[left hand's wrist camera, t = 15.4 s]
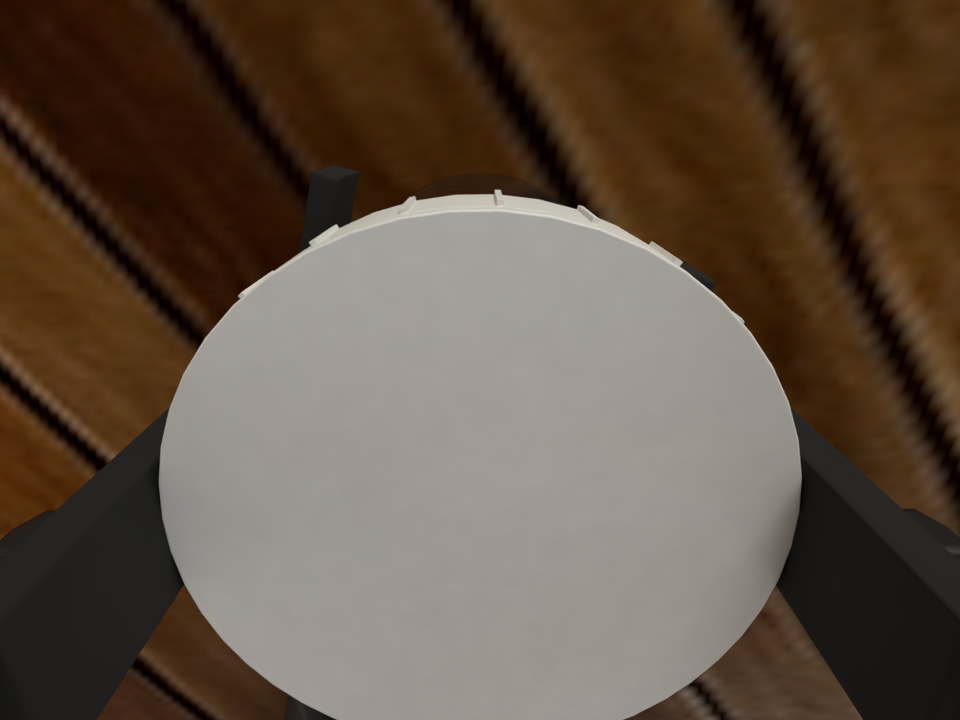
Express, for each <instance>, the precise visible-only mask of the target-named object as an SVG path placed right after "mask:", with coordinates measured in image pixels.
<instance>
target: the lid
mask: <svg viewBox="0 0 960 720" xmlns="http://www.w3.org/2000/svg"><path fill="white" fill-rule="evenodd" d="M309 243H310V245H311V246H310V247H308V248H307V249H305V250H304V251H302V252H301V253H299V254H298V255H296V256H295V257H294V258H292V259H291V260H289V261H288V262H286V263H285V264H284V265H282V266H281V267H279V268H278V269H276V270H275V271H272V272H270V273H269V274H267V275H266V276H264V277H263V278H261V279H260V280H259V281H257V282H256V283H254V284H253V285H251V286H250V287H248V288H247V289H246V290H244V291H243V292H241V293H240V294H239V295H238V297H239V298H241V299H240V300H239V301H238V302H236V303H235V304H234V305H233V306H232V307H231V308H230V309H229V311H228V312H227V313H226V314H225V315H224V317H223V318H222V319H221V320H220V321H219V322H218V324H217V325H216V326H215V327H214V328H213V329H212V331H211V332H210V333H209V334H208V335H207V337H206V338H205V339H204V341H203V342H202V344H201V346H200V347H199V349H198V351H197V352H196V354H195V356H194V357H193V359H192V361H191V362H190V364H189V365H188V367H187V369H186V370H185V372H184V374H183V377H182V379H181V381H180V384H179V386H178V389H177V391H176V394H175V396H174V399H173V401H172V404H171V406H170V409H169V412H168V417H167V421H166V426H165V430H164V435H163V439H162V443H161V452H160V468H159V492H160V502H161V512H162V520H163V524H164V528H165V532H166V535H167V539H168V543H169V547H170V551H171V554H172V556H173V559H174V561H175V563H176V566H177V568H178V570H179V573H180V575H181V578H182V580H183V582H184V584H185V586H186V588H187V589H188V591H189V593H190V594H191V596H192V598H193V600H194V601H195V603H196V605H197V606H198V608H199V610H200V611H201V613H202V614H203V616H204V617H205V618H206V619H207V621H208V622H209V623H210V624H211V626H212V627H213V628H214V630H215V631H216V632H217V633H218V635H219V636H220V637H221V638H222V640H223V641H224V642H225V643H226V644H227V645H228V646H229V647H230V648H231V649H232V650H233V651H234V652H235V653H236V654H237V655H238V656H239V657H240V658H241V659H242V660H243V661H244V662H245V663H246V664H248V665H249V666H250V667H251V668H253V669H254V670H255V671H256V672H258V673H259V674H260V675H262V676H263V677H264V678H265V679H267V680H268V681H269V682H270V683H272V684H273V685H274V686H276V687H278V688H279V689H281V690H282V691H284V692H286V693H287V694H289V695H290V696H292V697H294V698H295V699H297V700H298V701H300V702H301V703H303V704H305V705H307V706H309V707H311V708H314V709H316V710H318V711H320V712H322V713H324V714H326V715H328V716H330V717H332V718H334V719H337V720H624V719H626V718H629V717H631V716H634V715H636V714H638V713H640V712H641V711H643V710H645V709H647V708H649V707H651V706H653V705H655V704H657V703H659V702H661V701H663V700H665V699H666V698H668V697H669V696H671V695H672V694H674V693H675V692H677V691H678V690H680V689H681V688H683V687H684V686H686V685H688V684H689V683H691V682H692V681H693V680H695V679H696V678H697V677H698V676H699V675H701V674H702V673H703V672H704V671H706V670H707V669H708V668H709V667H710V666H712V665H713V664H714V663H715V662H716V661H718V660H719V659H720V658H721V657H722V656H723V655H724V654H725V653H726V652H727V650H728V649H729V648H730V647H731V646H732V645H733V644H734V643H735V642H736V641H737V640H738V639H739V638H740V637H741V636H742V635H743V633H744V632H745V631H746V629H747V628H748V627H749V625H750V624H751V623H752V621H753V620H754V619H755V617H756V616H757V615H758V613H759V612H760V611H761V609H762V608H763V606H764V604H765V603H766V601H767V599H768V597H769V596H770V594H771V592H772V590H773V588H774V587H775V585H776V583H777V581H778V580H779V577H780V575H781V572H782V570H783V567H784V565H785V562H786V560H787V557H788V554H789V552H790V549H791V546H792V542H793V538H794V534H795V529H796V525H797V521H798V516H799V510H800V496H801V481H802V473H801V462H800V451H799V440H798V436H797V432H796V428H795V424H794V421H793V417H792V413H791V409H790V405H789V402H788V400H787V397H786V395H785V393H784V391H783V388H782V386H781V384H780V382H779V379H778V377H777V375H776V372H775V370H774V368H773V366H772V364H771V363H770V361H769V360H768V358H767V357H766V355H765V354H764V352H763V351H762V349H761V348H760V346H759V344H758V343H757V341H756V340H755V338H754V337H753V335H752V334H751V332H750V331H749V330H748V329H747V328H746V327H745V326H744V324H743V323H744V321H743V319H742V318H741V317H739V316H738V315H737V314H735V313H734V312H733V311H731V310H730V309H729V308H728V307H727V306H726V304H725V303H724V302H723V301H722V300H721V299H720V298H718V297H717V296H716V295H715V294H714V293H712V292H711V291H710V290H709V289H707V288H706V287H705V286H704V285H703V284H701V283H700V282H699V281H698V280H696V279H695V278H694V277H693V276H692V275H690V274H689V273H688V272H687V271H685V270H684V269H682V268H681V267H679V266H680V265H681V264H682V263H683V262H682V261H680V260H679V259H678V258H676V257H675V256H673V255H672V254H670V253H669V252H667V251H666V250H664V249H663V248H661V247H660V246H658V245H657V244H655V243H654V242H651V243H650V244H649V245H648V244H646V243H644V242H643V241H641V240H639V239H638V238H636V237H634V236H633V235H631V234H629V233H628V232H626V231H624V230H623V229H621V228H619V227H618V226H616V225H613V224H611V223H609V222H606V221H604V220H602V219H599V218H597V217H596V216H595V215H594V214H592V213H591V212H590V211H588V210H587V209H586V208H585V207H583V206H580V205H578V207H577V209H573V208H569V207H566V206H562V205H558V204H554V203H550V202H547V201H543V200H539V199H531V198H523V197H515V196H507V195H502V193H501V190H495V191H494V194H481V195H451V196H444V197H437V198H430V199H424V200H417V201H416V197H415V196H413V197H409V198H408V199H407V200H406V201H405V202H404V203H403V204H402V205H398V206H395V207H391V208H388V209H385V210H381V211H378V212H374V213H372V214H370V215H368V216H365V217H363V218H361V219H359V220H356V221H354V222H352V223H350V224H348V225H345V226H343V227H341V228H339V227H338V226H337V224H336V225H334V226H332V227H331V228H329V229H328V230H326V231H325V232H323V233H322V234H320V235H319V236H317V237H316V238H314V239H313V240H311V241H310V242H309Z"/></svg>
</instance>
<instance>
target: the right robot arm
mask: <svg viewBox="0 0 960 720" xmlns="http://www.w3.org/2000/svg"><path fill="white" fill-rule="evenodd" d="M358 177H359V172H358V171H354V170H351V169H347V168H343V167H340V166H336V165H335V166H331V167H327V168H323V169H319V170H315V171H312V173H311V180H310V186H309V193H308V199H307V206H306V212H305V219H304V225H303V232H302V238H301V245H300V251H299V253H301V252H302V251H304V250H305V249H307V248H308V247H310V246H311V245H310V243H309V242H310V241H311V240H313V239H314V238H316V237H317V236H319V235H320V234H322V233H323V232H325V231H326V230H328V229H329V228H331V227H332V226H334V225H336V224H337V226H338V227H339V228H341V227H343V226H345V225H348V224H350V221H351V215H352V210H353V204H354V199H355V193H356V188H357V182H358ZM680 261H681V260H680ZM682 262H683V263H682V264H681V265H680V266H679V267H681V268H682V269H684V270H685V271H687V272H688V273H689V274H690V275H692V276H693V277H694V278H695V279H696V280H698V281H699V282H700V283H701V284H703V285H704V286H705V287H706V288H707V289H709V290H710V291H711V292H712V290H713V288H714V286H715V283H716V282H715V281H714V280H712V279H711V278H709V277H708V276H706V275H705V274H703V273H702V272H700V271H699V270H697V269H696V268H694V267H693V266H691V265H690V264H688V263H687V262H685V261H682ZM284 720H337V719H334V718H332V717H330V716H328V715H326V714H324V713H322V712H320V711H318V710H316V709H314V708H311V707H309V706H307V705H305V704H303V703H301V702H300V701H298V700H297V699H295V698H294V697H292V696H290V695H288V699H287V704H286V709H285V715H284Z"/></svg>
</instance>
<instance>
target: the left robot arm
mask: <svg viewBox="0 0 960 720" xmlns="http://www.w3.org/2000/svg"><path fill="white" fill-rule="evenodd" d="M169 409H170V408H169ZM169 409H168V410H166V411H165V412H164V413H163V414H162V415H161V416H160V417H159V418H158V419H157V420H155V421H154V422H153V423H152V424H151V425H150V426H149V427H148V428H147V429H145V430H144V431H143V432H142V433H141V434H140V435H139V436H138V437H137V438H136V439H134V440H133V441H132V442H131V443H130V444H129V445H128V446H127V447H126V448H125V449H123V450H122V451H121V452H120V453H119V454H118V455H117V456H116V457H115V458H113V459H112V460H111V461H110V462H109V463H108V464H107V465H106V466H105V467H104V468H102V469H101V470H100V471H99V472H98V473H97V474H96V475H95V476H94V477H93V478H91V479H90V480H89V481H88V482H87V483H86V484H85V485H84V486H83V487H81V488H80V489H79V490H78V491H77V492H76V493H75V494H74V495H73V496H72V497H70V498H69V499H68V500H67V501H66V502H65V503H64V504H63V505H62V506H61V507H59V508H58V509H57V510H56V511H45V512H43V513H41V514H40V515H38V516H36V517H34V518H33V519H31V520H29V521H27V522H25V523H24V524H22V525H20V526H18V527H16V528H15V529H13V530H11V531H10V532H9V533H8V534H7V535H6V536H5V537H3V538H2V539H1V540H0V720H97V718H98V717H99V715H100V713H101V712H102V710H103V709H104V707H105V706H106V704H107V703H108V701H109V700H110V698H111V696H112V695H113V693H114V692H115V690H116V689H117V687H118V686H119V684H120V683H121V681H122V679H123V678H124V676H125V675H126V673H127V672H128V670H129V669H130V667H131V665H132V664H133V662H134V661H135V659H136V658H137V656H138V655H139V653H140V652H141V650H142V648H143V647H144V645H145V644H146V642H147V641H148V639H149V638H150V636H151V635H152V633H153V631H154V630H155V628H156V627H157V625H158V624H159V622H160V621H161V619H162V618H163V616H164V614H165V613H166V611H167V610H168V608H169V607H170V605H171V604H172V602H173V600H174V599H175V597H176V596H177V594H178V593H179V591H180V590H181V588H182V587H183V585H184V582H183V580H182V578H181V575H180V573H179V570H178V568H177V566H176V563H175V561H174V559H173V556H172V554H171V551H170V547H169V543H168V539H167V535H166V532H165V528H164V524H163V520H162V512H161V502H160V492H159V468H160V452H161V443H162V439H163V435H164V430H165V426H166V421H167V417H168V412H169ZM790 409H791V408H790ZM791 413H792V417H793V421H794V424H795V428H796V432H797V436H798V440H799V451H800V462H801V473H802V481H801V496H800V510H799V516H798V521H797V525H796V529H795V534H794V538H793V542H792V546H791V549H790V552H789V554H788V557H787V560H786V562H785V565H784V567H783V570H782V572H781V575H780V577H779V580H778V581H777V583H776V585H777V587H778V588H779V590H780V592H781V593H782V595H783V596H784V598H785V599H786V601H787V602H788V604H789V605H790V607H791V609H792V610H793V612H794V613H795V615H796V616H797V618H798V619H799V621H800V623H801V624H802V626H803V627H804V629H805V630H806V632H807V633H808V635H809V636H810V638H811V640H812V641H813V643H814V644H815V646H816V647H817V649H818V650H819V652H820V653H821V655H822V657H823V658H824V660H825V661H826V663H827V664H828V666H829V667H830V669H831V671H832V672H833V674H834V675H835V677H836V678H837V680H838V681H839V683H840V684H841V686H842V688H843V689H844V691H845V692H846V694H847V695H848V697H849V698H850V700H851V701H852V703H853V705H854V706H855V708H856V709H857V711H858V712H859V714H860V715H861V717H862V718H863V720H960V537H958V536H957V535H956V534H955V533H954V532H953V531H951V530H950V529H949V528H948V527H946V526H944V525H942V524H941V523H939V522H937V521H935V520H933V519H932V518H930V517H928V516H926V515H924V514H923V513H921V512H919V511H917V510H915V509H901V508H900V507H899V506H898V505H897V504H896V503H895V502H894V501H893V500H892V499H890V498H889V497H888V496H887V495H886V494H885V493H884V492H883V491H882V490H880V489H879V488H878V487H877V486H876V485H875V484H874V483H873V482H872V481H871V480H869V479H868V478H867V477H866V476H865V475H864V474H863V473H862V472H861V471H860V470H858V469H857V468H856V467H855V466H854V465H853V464H852V463H851V462H850V461H848V460H847V459H846V458H845V457H844V456H843V455H842V454H841V453H840V452H839V451H837V450H836V449H835V448H834V447H833V446H832V445H831V444H830V443H829V442H828V441H826V440H825V439H824V438H823V437H822V436H821V435H820V434H819V433H818V432H816V431H815V430H814V429H813V428H812V427H811V426H810V425H809V424H808V423H807V422H805V421H804V420H803V419H802V418H801V417H800V416H799V415H798V414H797V413H796V412H794V411H793V410H792V409H791Z"/></svg>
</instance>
